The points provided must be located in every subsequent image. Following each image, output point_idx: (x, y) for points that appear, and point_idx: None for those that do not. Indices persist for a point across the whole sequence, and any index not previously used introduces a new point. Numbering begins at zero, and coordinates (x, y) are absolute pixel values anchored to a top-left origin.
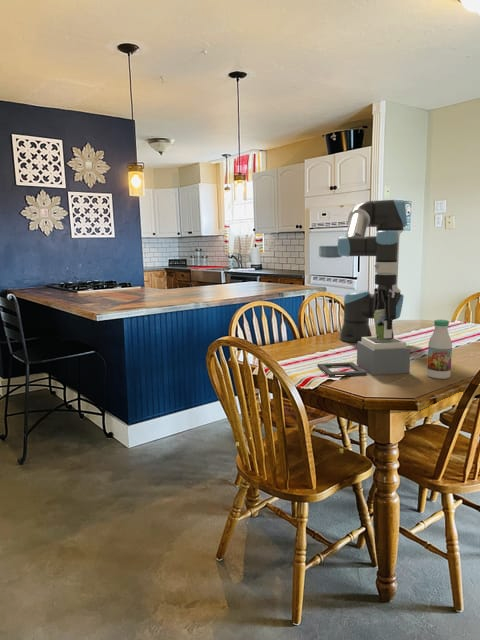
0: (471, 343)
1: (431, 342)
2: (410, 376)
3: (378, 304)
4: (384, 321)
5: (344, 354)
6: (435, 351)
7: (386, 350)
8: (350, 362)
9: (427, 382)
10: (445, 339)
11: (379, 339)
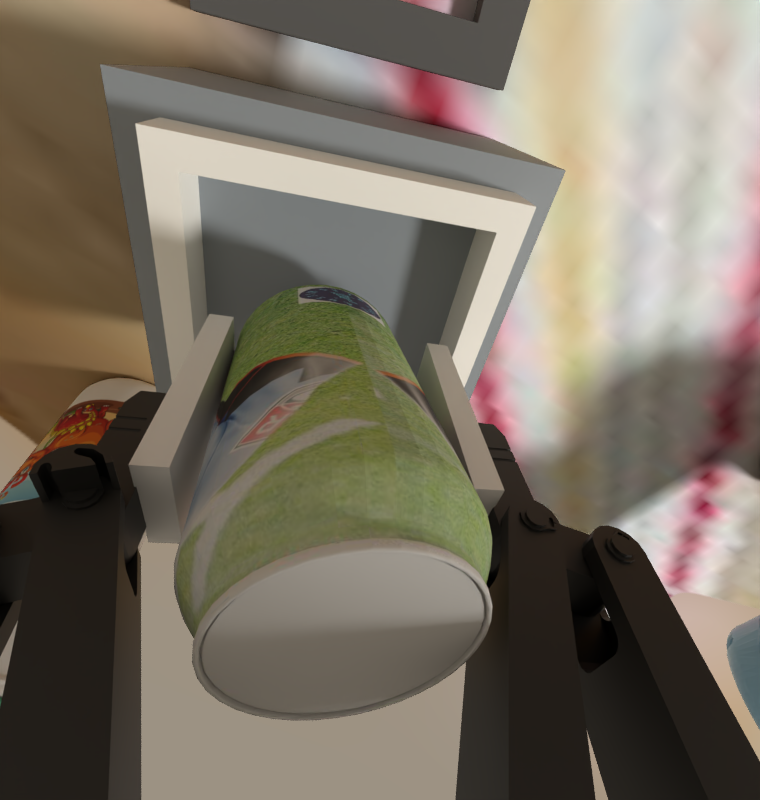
0: None
1: None
2: (139, 302)
3: (515, 784)
4: (168, 451)
5: (725, 208)
6: (8, 489)
7: (132, 236)
8: (504, 65)
9: (14, 317)
10: None
11: (291, 289)
